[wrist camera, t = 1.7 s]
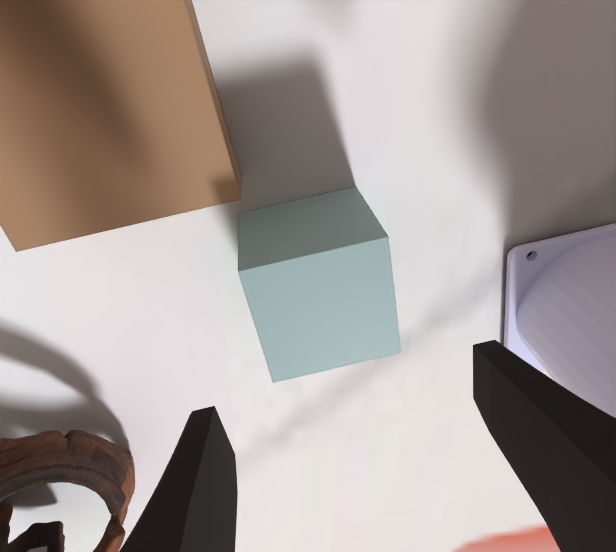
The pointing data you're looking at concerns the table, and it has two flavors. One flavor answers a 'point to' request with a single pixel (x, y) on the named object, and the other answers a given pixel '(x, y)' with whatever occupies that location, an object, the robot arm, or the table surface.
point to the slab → (106, 118)
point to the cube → (318, 283)
